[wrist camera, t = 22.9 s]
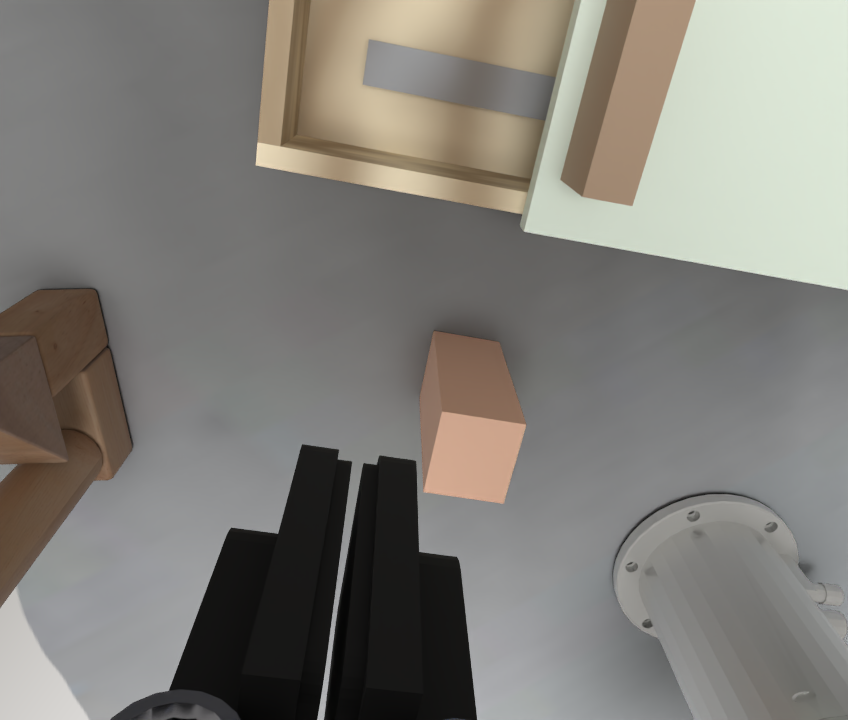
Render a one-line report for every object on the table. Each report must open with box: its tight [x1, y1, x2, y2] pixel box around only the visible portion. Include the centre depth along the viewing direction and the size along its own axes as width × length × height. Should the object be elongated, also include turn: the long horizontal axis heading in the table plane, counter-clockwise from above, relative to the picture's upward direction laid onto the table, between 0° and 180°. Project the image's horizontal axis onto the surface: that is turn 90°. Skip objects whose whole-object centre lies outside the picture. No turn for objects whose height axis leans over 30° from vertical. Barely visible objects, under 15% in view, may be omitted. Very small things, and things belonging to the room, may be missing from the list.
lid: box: [520, 0, 848, 290], centre depth 27 cm, size 21×15×5 cm
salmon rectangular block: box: [420, 331, 526, 504], centre depth 37 cm, size 4×4×10 cm
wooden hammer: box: [0, 289, 132, 607], centre depth 32 cm, size 4×11×18 cm, turn 1°
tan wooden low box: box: [256, 0, 575, 214], centre depth 31 cm, size 20×14×6 cm
